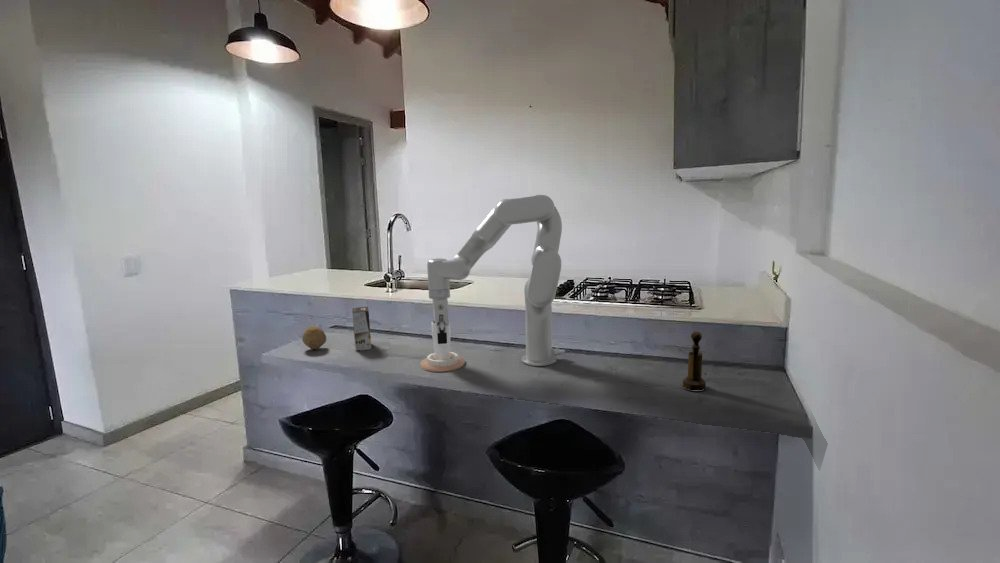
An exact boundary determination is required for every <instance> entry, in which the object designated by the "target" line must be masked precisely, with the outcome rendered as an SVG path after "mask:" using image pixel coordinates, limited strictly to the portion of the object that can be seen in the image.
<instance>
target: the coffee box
mask: <svg viewBox="0 0 1000 563" xmlns="http://www.w3.org/2000/svg"><path fill="white" fill-rule="evenodd" d="M369 311H370V310H369V307H368V306H361V307H360V306H359V307H352V322H353V323H352V325H353V338H354V346H355V349H354V350H355V351H356V350H360V351H365V350H366V351H368V350H371V349H372V338H371V337H372V336H371V324H370V312H369Z"/></svg>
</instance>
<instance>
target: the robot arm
mask: <svg viewBox="0 0 1000 563" xmlns="http://www.w3.org/2000/svg"><path fill="white" fill-rule="evenodd" d="M533 222H535V223H536V224H537V232H536V238H535V243H534V247H533V252H532V255H531V260H530V262H531V266H532V268H531V274H530V277H528V279H527V280H526V282H525V285H524V288H523V289H524V290H523V291H524V306H525V310H524V311H525V313H524V314H525V354H524V355H523V356H522V357H521V361H522V362H523V363H524V364H526V365H528V366H534V367H545V366H550V365H553V364H555V363H556V362H557V356H565V354H566V350H565V349H560V348H553V329H552V327H553V323H552V322H553V321H552V320H553V313H552V312H553V309H552V306H553V305H552V302H553V301H554V300H555V298H556V294H557V290H558V285H559V281H560V275H561V271H562V258H561V256H560V253H559V249H560V245H561V238H562V229H563V224H562V218H561V215H560V213H559V210H558V209H557V207H556V205H555V203H554V200H552V198H551V197H549V196H548V195H546V194H536V195H531V196H524V197H518V198H504V199H502V200H499V201H498V202H497V203H496V205H495V206H494V207H493V208H492V209H491V211H490V212H488V214H487V216H486V217H485V218H484V220H483V221H481V223H480V224H479V225H478V226H477V228H476V229H475V230H474V231H473V233H472V234H471V236H470V238H469V239H468V240H467V241H466V243H465V244H464V245H463V246H462V247H461V248H460V250H459V251H457V254H455V255H454V257H453V258H452V259H449V260H448V259H446V258H442V257H440V258H438V257H437V258H431V259H428V261H427V265H426V267H427V283H428V284H427V286H428V287H427V288H428V298H429V299H430V300H432V312H433V319H434V320H435V325H436V326H438V333H437V336H438V344H446V343H447V332H446V326H445V324H446V325H447V326H449V321H450V315H449V314H450V313H449V300H448V299H450V298H451V288H450V287H451V286H450V280H455V281H462V280H466V279H467V278H468V276H470V273H471V270H472V268H474V266H475V264H477V262H478V261H479V260H480V258H482V257H483V255H484V254H485V253H487V252H488V251H489V250H491V249H492V248H493V247H495V245H496V244H497V243H498V241H499V240H500V239H501V238H502V236H503V235H504V234H505V233H506V232H507V231H508V229H509V228H510V227H511V226H512V225H520V224H521V225H522V224H527V223H533ZM434 320H433V321H434Z"/></svg>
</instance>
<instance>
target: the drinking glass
mask: <svg viewBox="0 0 1000 563" xmlns="http://www.w3.org/2000/svg"><path fill="white" fill-rule="evenodd" d="M445 326H446V332H447V343H446V344H438V336H437V333H438V326H436V325H435V320H432V321H431V337H432V343H433V345H432V346H433V351H434V352H433V353H435V360H439V361H441V360H448V359H450V352H451V321H450V320H449V326H447V325H446V324H445Z"/></svg>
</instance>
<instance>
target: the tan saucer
mask: <svg viewBox="0 0 1000 563" xmlns="http://www.w3.org/2000/svg"><path fill="white" fill-rule="evenodd" d="M465 362H466V360H465V358H464V357H462V356H461V355H460V356H459V355H458V353H456V352H453V351H450V359H448V360H441V361H439V360H435V352H432V353H430V354H428V355H427V357H426V358H424V359H422V360H421V361H420V368H421V369H422V370H424V371H427V372H432V373H447V372H451V371H455V370H458V369H461V368H462V367H463V366H465V364H466V363H465Z"/></svg>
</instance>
